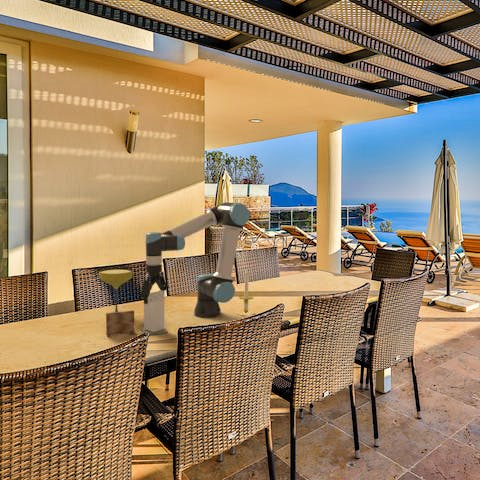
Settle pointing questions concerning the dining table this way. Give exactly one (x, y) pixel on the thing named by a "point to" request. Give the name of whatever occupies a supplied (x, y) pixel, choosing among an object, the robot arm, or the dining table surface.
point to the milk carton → (154, 313)
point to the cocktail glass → (115, 277)
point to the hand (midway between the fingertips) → (154, 306)
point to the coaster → (154, 332)
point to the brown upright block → (120, 323)
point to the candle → (246, 293)
